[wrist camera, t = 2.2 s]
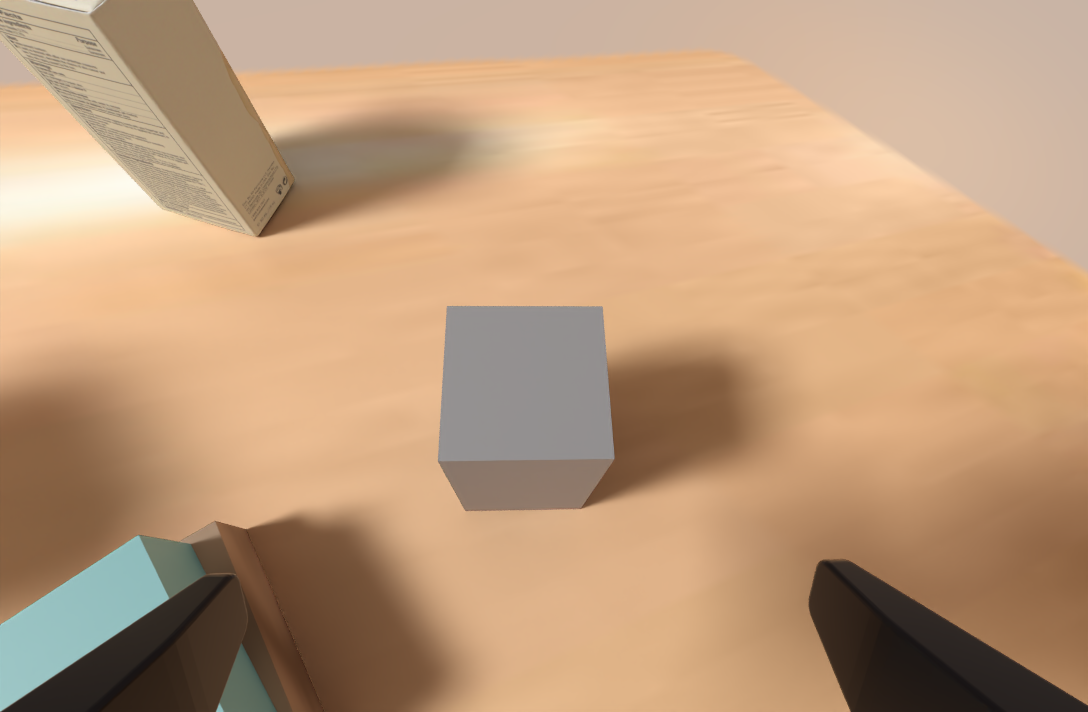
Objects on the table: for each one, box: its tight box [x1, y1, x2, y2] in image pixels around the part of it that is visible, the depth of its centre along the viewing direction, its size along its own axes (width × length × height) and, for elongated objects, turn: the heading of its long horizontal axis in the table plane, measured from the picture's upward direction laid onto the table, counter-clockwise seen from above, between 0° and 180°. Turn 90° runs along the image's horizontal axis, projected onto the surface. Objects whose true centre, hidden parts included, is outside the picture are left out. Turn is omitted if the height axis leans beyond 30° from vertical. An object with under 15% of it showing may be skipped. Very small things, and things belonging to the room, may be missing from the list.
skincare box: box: [0, 0, 294, 236], centre depth 24 cm, size 6×4×12 cm
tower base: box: [179, 521, 324, 712], centre depth 19 cm, size 9×9×3 cm
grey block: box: [438, 306, 615, 511], centre depth 20 cm, size 5×5×9 cm
